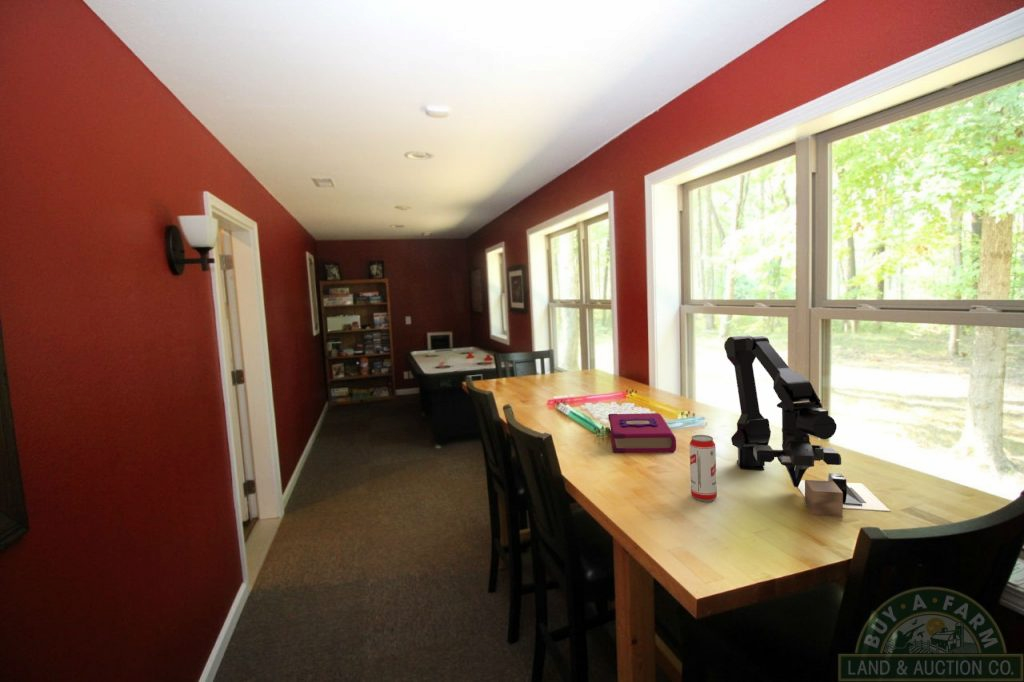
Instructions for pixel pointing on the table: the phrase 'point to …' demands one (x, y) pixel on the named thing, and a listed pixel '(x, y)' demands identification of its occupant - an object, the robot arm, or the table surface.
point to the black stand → (844, 489)
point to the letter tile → (861, 493)
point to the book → (641, 433)
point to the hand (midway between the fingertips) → (795, 486)
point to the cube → (823, 498)
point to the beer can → (703, 468)
